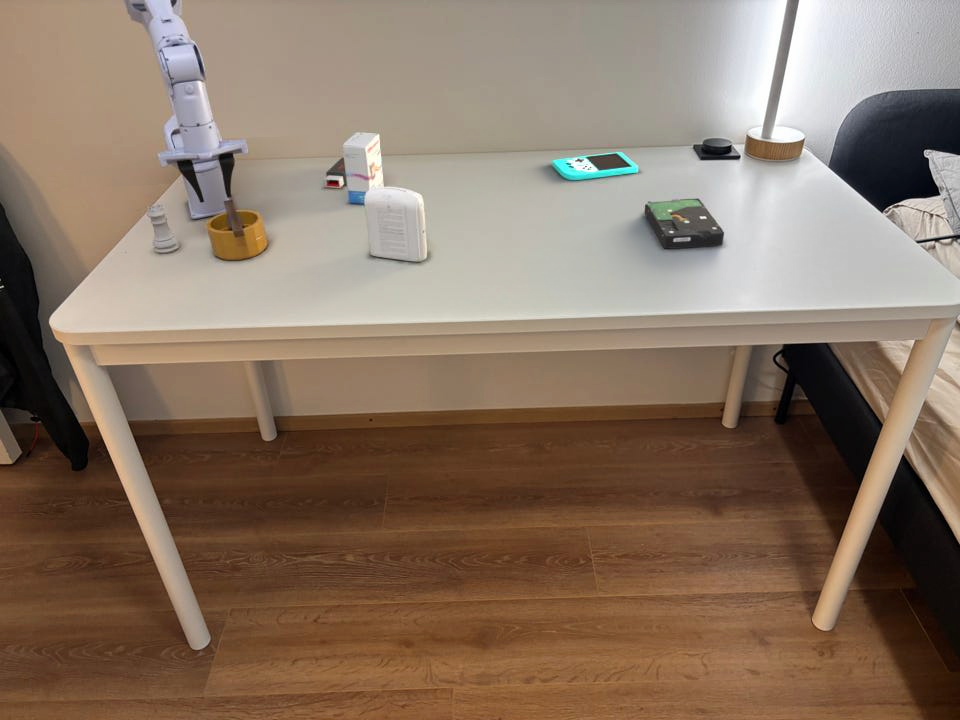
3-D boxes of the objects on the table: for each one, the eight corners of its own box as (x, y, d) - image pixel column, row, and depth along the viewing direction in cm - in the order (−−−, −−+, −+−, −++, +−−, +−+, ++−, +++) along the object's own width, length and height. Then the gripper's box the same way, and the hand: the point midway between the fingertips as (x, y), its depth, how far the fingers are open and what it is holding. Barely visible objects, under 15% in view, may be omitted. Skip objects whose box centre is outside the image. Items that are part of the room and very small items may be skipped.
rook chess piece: (185, 245, 135) (173, 203, 130) (169, 256, 131) (156, 214, 127) (165, 242, 136) (152, 201, 131) (149, 252, 133) (135, 211, 128)
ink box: (372, 205, 147) (365, 146, 140) (348, 203, 147) (340, 145, 141) (385, 188, 153) (379, 131, 146) (362, 187, 154) (355, 130, 147)
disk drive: (723, 247, 127) (696, 210, 139) (726, 232, 126) (699, 196, 138) (664, 251, 127) (642, 213, 139) (665, 236, 125) (644, 200, 137)
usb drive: (364, 168, 163) (363, 156, 162) (345, 189, 154) (343, 176, 152) (342, 167, 164) (340, 154, 163) (321, 187, 155) (319, 175, 153)
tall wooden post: (227, 227, 137) (220, 201, 134) (241, 225, 137) (234, 198, 134) (237, 259, 126) (230, 231, 123) (252, 256, 127) (245, 228, 124)
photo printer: (431, 253, 129) (426, 185, 122) (422, 264, 126) (416, 195, 118) (377, 246, 132) (368, 180, 124) (367, 257, 128) (357, 190, 121)
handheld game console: (551, 164, 161) (551, 158, 160) (620, 156, 164) (620, 150, 163) (566, 181, 153) (567, 175, 152) (638, 172, 156) (639, 166, 155)
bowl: (211, 243, 135) (203, 215, 132) (263, 233, 138) (257, 206, 134) (217, 265, 128) (209, 236, 124) (271, 254, 130) (265, 226, 127)
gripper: (151, 135, 119) (174, 214, 127) (243, 121, 123) (259, 198, 131) (149, 123, 124) (171, 199, 132) (237, 110, 129) (253, 184, 136)
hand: (215, 198), depth 132 cm, fingers open, 4 cm apart
